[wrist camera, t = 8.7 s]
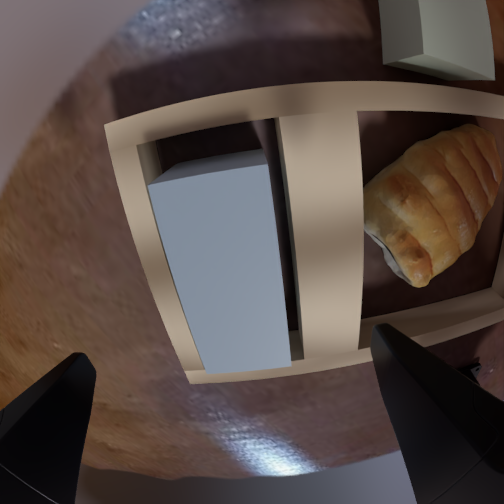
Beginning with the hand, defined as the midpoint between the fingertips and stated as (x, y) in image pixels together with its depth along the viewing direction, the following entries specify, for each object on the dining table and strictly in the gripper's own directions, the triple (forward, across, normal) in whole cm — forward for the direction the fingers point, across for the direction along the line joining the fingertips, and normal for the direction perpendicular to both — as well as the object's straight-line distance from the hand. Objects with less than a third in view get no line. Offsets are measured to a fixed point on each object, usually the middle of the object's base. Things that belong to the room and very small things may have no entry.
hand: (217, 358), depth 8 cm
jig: (+8, -12, 0) cm, 14 cm away
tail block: (+8, -11, -11) cm, 17 cm away
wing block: (+8, 0, 0) cm, 8 cm away
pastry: (+8, -10, -1) cm, 13 cm away
